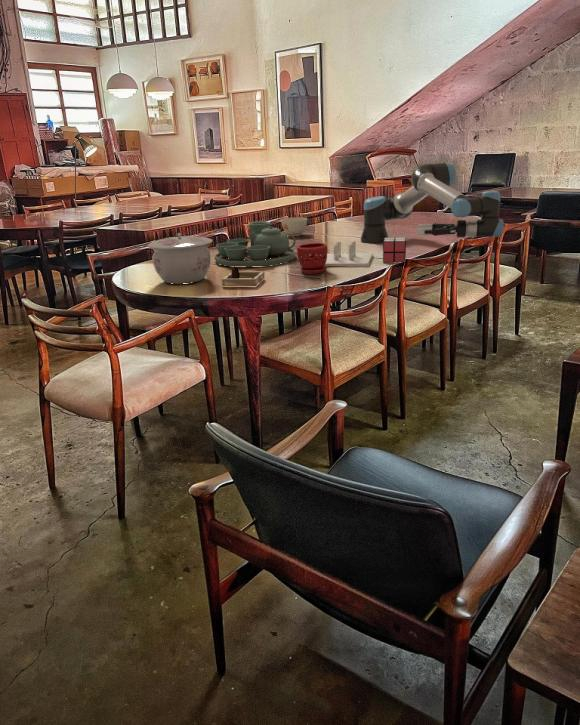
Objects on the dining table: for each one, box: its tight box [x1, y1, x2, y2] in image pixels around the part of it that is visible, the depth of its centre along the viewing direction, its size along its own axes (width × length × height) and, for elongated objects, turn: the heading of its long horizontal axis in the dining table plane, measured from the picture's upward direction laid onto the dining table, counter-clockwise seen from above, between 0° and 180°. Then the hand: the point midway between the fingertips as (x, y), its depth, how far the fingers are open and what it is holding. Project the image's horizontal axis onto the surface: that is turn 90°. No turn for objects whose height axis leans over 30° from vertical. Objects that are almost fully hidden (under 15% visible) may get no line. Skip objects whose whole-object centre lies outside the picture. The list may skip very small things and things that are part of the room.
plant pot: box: [296, 242, 328, 275], centre depth 254 cm, size 13×13×12 cm
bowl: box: [280, 216, 308, 237], centre depth 350 cm, size 16×16×10 cm
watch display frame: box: [221, 271, 266, 287], centre depth 241 cm, size 14×14×4 cm
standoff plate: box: [325, 241, 374, 268], centre depth 273 cm, size 24×24×8 cm
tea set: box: [214, 220, 297, 267], centre depth 285 cm, size 40×40×16 cm
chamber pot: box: [146, 232, 213, 285], centre depth 248 cm, size 28×28×21 cm
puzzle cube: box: [382, 237, 407, 264], centre depth 268 cm, size 10×10×10 cm
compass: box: [230, 266, 240, 279], centre depth 241 cm, size 8×8×7 cm
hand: (417, 229), depth 262 cm, fingers open, 13 cm apart
